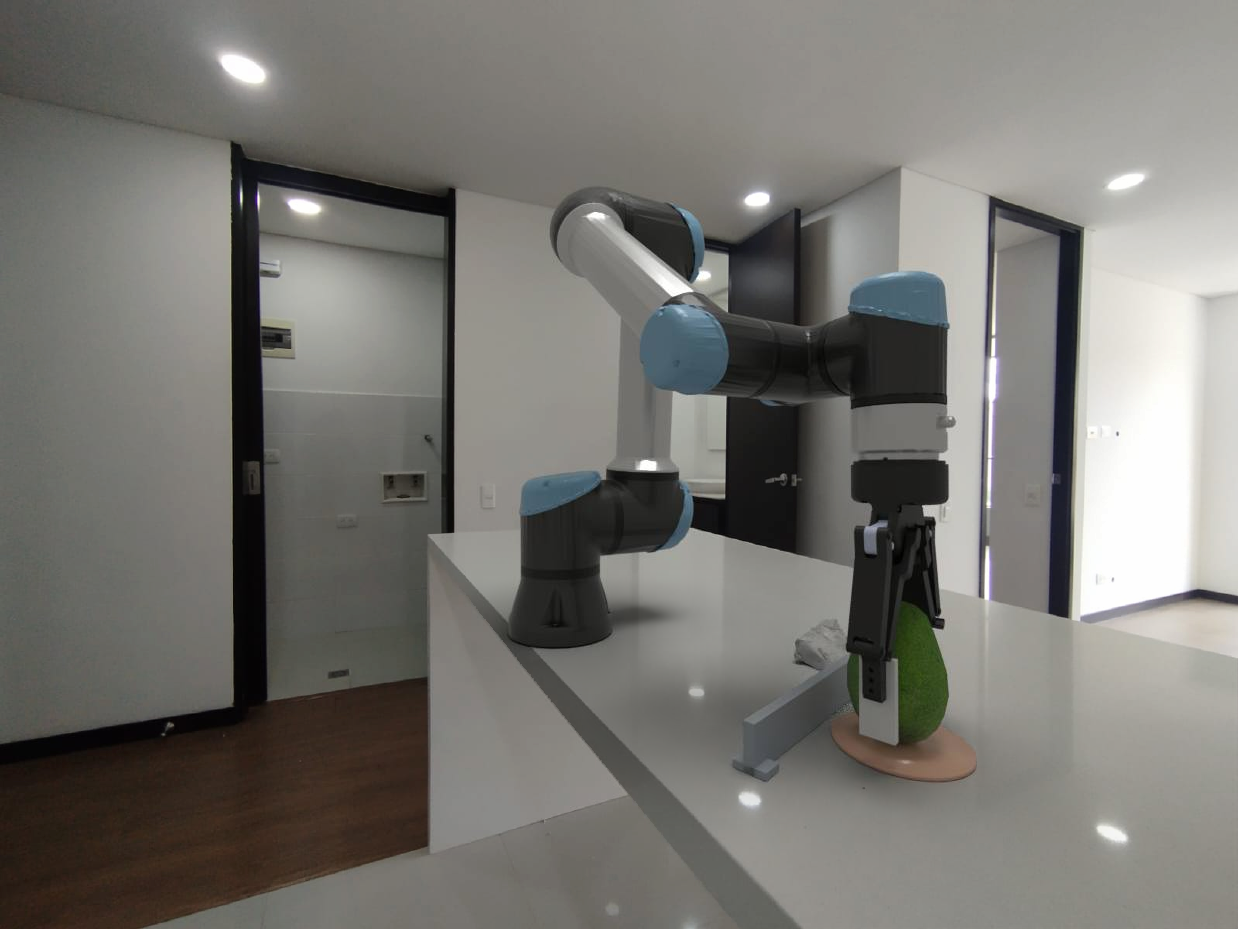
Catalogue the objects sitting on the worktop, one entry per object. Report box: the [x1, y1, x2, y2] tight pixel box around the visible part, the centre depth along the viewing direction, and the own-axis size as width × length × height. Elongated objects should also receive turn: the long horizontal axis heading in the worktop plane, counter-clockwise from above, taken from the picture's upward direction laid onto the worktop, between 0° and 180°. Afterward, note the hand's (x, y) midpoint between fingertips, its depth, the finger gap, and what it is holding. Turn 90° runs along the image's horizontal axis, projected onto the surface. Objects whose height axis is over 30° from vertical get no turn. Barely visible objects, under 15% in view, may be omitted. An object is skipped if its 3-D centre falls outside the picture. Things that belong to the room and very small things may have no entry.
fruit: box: [847, 601, 950, 743], centre depth 46 cm, size 8×8×12 cm
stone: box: [793, 618, 848, 672], centre depth 67 cm, size 6×12×4 cm, turn 138°
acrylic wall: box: [731, 653, 851, 782], centre depth 50 cm, size 3×22×4 cm, turn 136°
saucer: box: [830, 711, 977, 783], centre depth 46 cm, size 11×11×1 cm
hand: (899, 716), depth 46 cm, fingers open, 9 cm apart
